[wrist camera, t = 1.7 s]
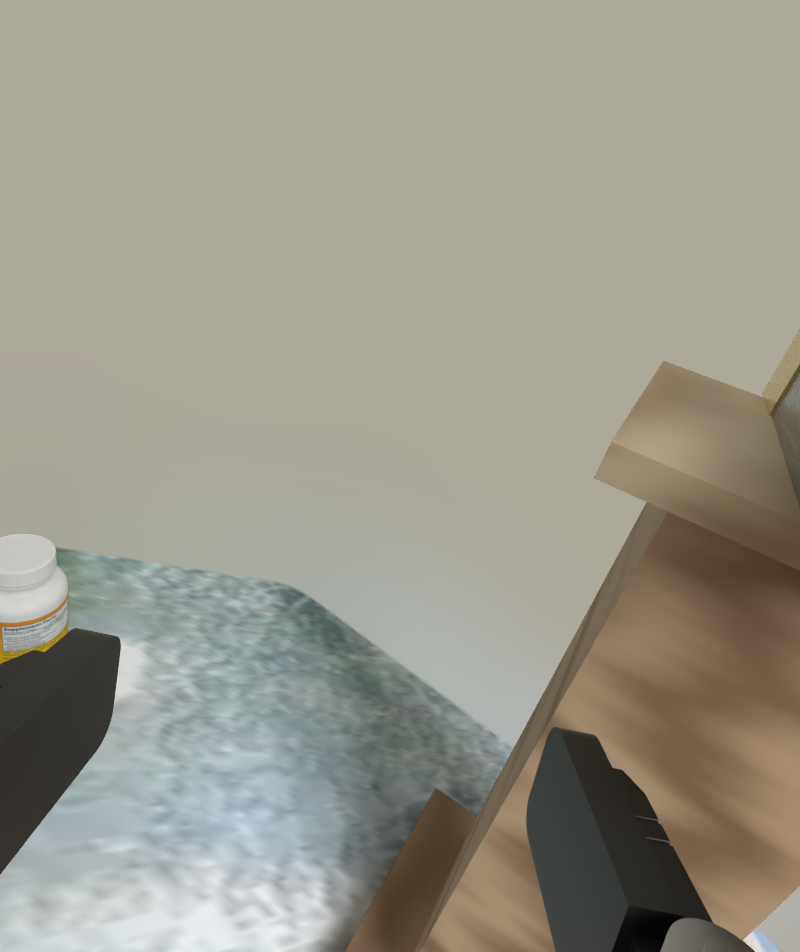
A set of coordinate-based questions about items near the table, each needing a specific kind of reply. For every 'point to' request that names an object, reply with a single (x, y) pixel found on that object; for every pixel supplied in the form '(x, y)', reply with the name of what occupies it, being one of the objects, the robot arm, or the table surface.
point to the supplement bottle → (30, 596)
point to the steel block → (787, 409)
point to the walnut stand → (651, 690)
